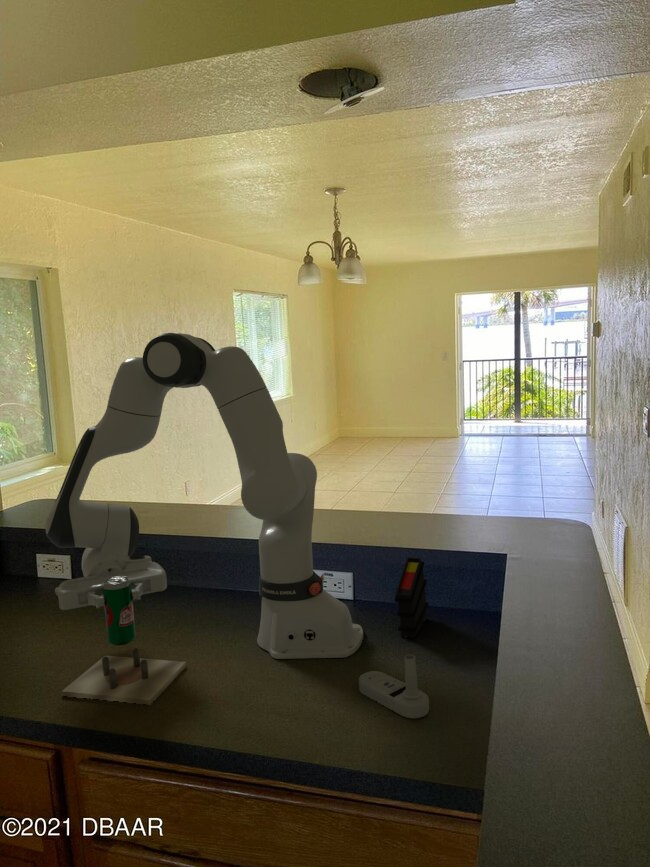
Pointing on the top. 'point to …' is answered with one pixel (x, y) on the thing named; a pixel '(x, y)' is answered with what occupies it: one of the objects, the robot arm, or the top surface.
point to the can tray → (125, 679)
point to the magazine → (411, 597)
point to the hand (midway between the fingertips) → (118, 600)
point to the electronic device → (396, 691)
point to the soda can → (119, 610)
